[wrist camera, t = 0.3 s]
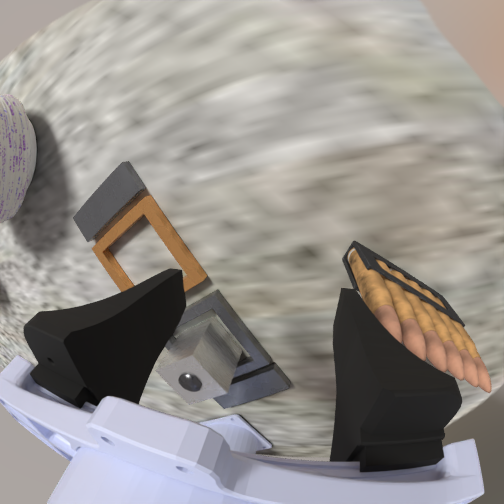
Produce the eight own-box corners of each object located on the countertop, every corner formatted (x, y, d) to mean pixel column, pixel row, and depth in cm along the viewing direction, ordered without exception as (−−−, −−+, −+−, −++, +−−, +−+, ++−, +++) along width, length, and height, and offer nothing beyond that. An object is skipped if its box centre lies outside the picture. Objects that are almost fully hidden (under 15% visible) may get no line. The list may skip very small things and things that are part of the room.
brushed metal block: (207, 364, 28) (188, 405, 22) (180, 332, 27) (154, 371, 22) (242, 349, 27) (227, 394, 21) (214, 315, 26) (191, 356, 20)
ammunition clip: (444, 296, 21) (506, 383, 10) (432, 312, 22) (486, 405, 11) (353, 239, 21) (395, 324, 10) (341, 259, 22) (369, 356, 11)
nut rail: (226, 402, 30) (224, 408, 29) (79, 215, 25) (72, 218, 24) (290, 381, 27) (289, 388, 26) (128, 161, 22) (122, 162, 22)
